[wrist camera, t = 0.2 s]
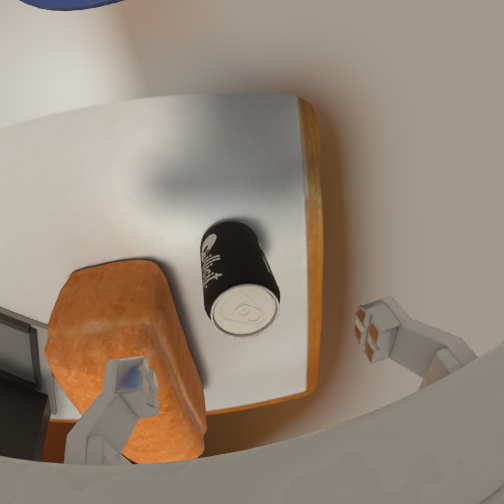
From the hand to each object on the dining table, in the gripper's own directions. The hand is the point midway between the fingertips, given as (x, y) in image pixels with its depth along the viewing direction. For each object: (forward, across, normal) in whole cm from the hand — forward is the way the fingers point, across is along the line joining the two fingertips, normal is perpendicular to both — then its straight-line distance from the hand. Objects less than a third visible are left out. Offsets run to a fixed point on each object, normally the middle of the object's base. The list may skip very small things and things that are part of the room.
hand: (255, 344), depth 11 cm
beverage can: (+23, -1, +9) cm, 25 cm away
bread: (+24, +13, +21) cm, 34 cm away
